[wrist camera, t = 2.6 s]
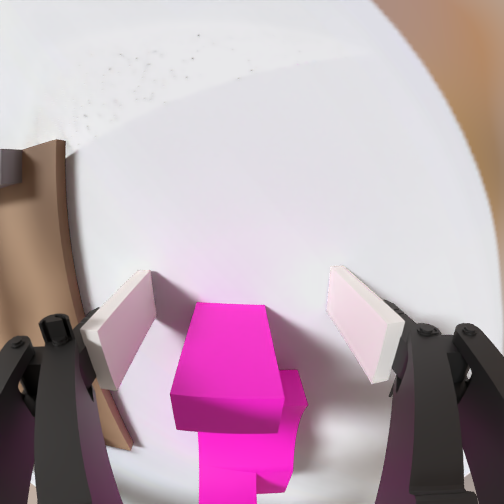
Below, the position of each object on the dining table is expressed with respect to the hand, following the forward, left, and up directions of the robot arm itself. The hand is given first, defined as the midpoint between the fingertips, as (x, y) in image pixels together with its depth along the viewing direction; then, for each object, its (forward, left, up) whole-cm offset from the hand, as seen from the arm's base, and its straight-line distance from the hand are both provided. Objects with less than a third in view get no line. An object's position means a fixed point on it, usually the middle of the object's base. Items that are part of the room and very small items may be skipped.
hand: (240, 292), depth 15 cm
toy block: (0, -8, -1) cm, 8 cm away
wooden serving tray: (-18, -3, 0) cm, 18 cm away
